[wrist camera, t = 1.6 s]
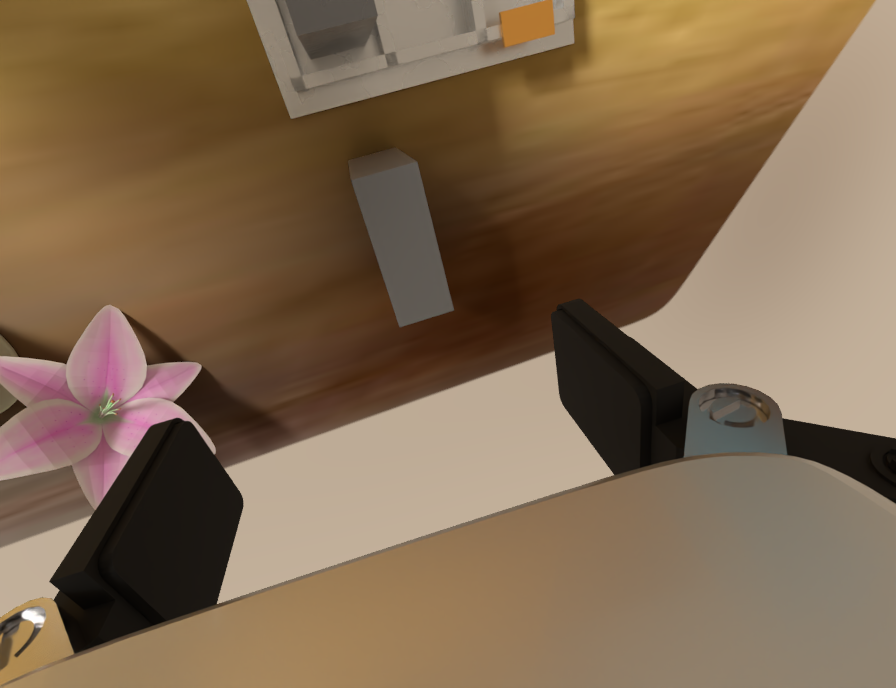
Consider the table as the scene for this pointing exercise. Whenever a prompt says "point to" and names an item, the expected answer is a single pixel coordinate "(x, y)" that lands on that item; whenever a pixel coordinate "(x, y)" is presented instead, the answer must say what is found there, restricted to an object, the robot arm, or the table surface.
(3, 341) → the can
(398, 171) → the panel
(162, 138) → the table surface
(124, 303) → the table surface
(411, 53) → the rack
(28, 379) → the lily
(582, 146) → the table surface
